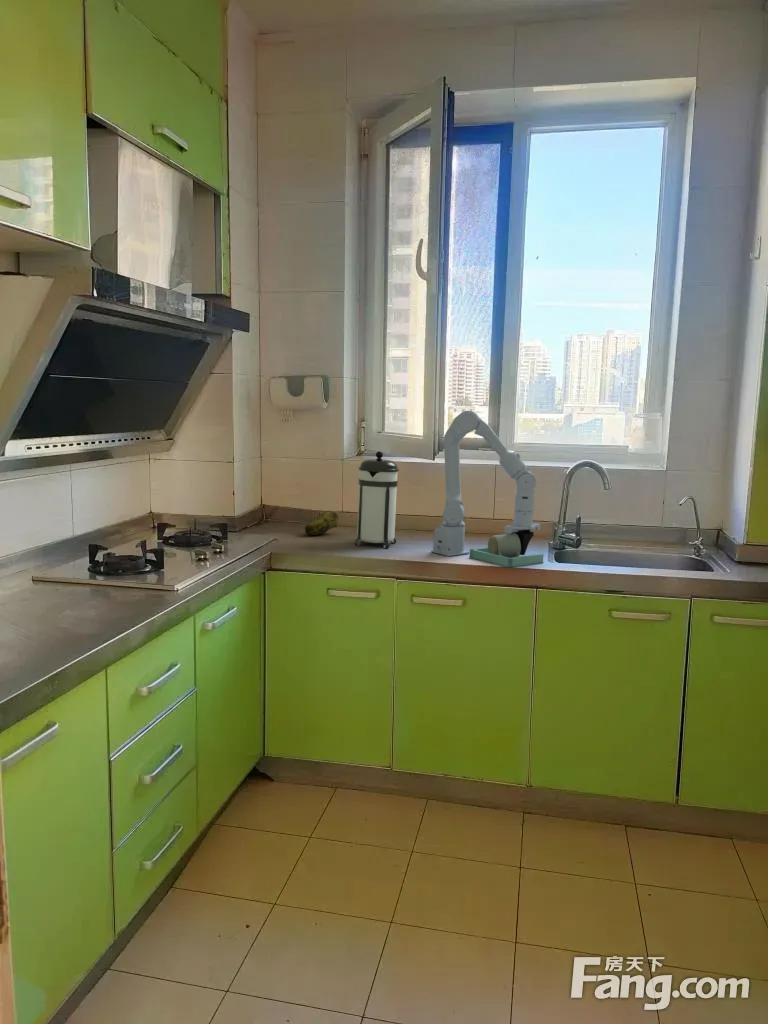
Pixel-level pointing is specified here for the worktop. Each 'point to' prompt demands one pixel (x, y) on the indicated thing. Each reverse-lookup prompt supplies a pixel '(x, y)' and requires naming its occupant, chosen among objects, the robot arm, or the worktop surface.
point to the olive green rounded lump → (322, 523)
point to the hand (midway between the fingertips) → (521, 554)
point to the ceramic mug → (505, 545)
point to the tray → (504, 558)
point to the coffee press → (377, 501)
